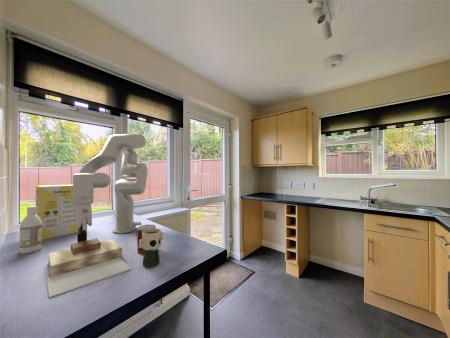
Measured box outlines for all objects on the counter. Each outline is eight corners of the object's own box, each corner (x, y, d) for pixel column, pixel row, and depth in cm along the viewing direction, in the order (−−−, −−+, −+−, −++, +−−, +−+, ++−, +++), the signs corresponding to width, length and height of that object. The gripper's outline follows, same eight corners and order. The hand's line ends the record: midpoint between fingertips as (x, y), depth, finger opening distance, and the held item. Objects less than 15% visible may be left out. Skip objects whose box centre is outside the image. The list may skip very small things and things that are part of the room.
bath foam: (37, 252, 83) (38, 207, 83) (15, 255, 80) (16, 208, 80) (44, 246, 89) (45, 204, 89) (24, 249, 86) (25, 205, 86)
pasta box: (75, 228, 118) (76, 184, 118) (80, 231, 111) (81, 185, 112) (34, 236, 103) (36, 185, 104) (37, 240, 97) (39, 186, 98)
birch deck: (112, 247, 88) (112, 239, 88) (121, 257, 79) (122, 247, 79) (48, 263, 72) (48, 253, 73) (50, 277, 63) (51, 266, 63)
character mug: (144, 273, 66) (145, 236, 66) (132, 268, 70) (133, 233, 70) (168, 261, 75) (169, 229, 76) (156, 256, 79) (157, 226, 79)
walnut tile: (96, 243, 83) (96, 238, 83) (100, 248, 78) (100, 242, 78) (70, 249, 76) (70, 243, 76) (73, 254, 71) (73, 248, 71)
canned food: (137, 256, 80) (138, 230, 80) (136, 249, 87) (137, 225, 87) (156, 252, 83) (156, 227, 84) (154, 246, 90) (154, 223, 91)
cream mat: (119, 258, 78) (119, 257, 78) (131, 269, 68) (131, 268, 68) (46, 279, 62) (46, 278, 62) (49, 298, 53) (49, 296, 53)
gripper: (96, 201, 81) (95, 244, 80) (89, 198, 91) (88, 235, 91) (74, 203, 75) (73, 249, 75) (70, 199, 86) (68, 239, 86)
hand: (82, 241), depth 83 cm, fingers closed
